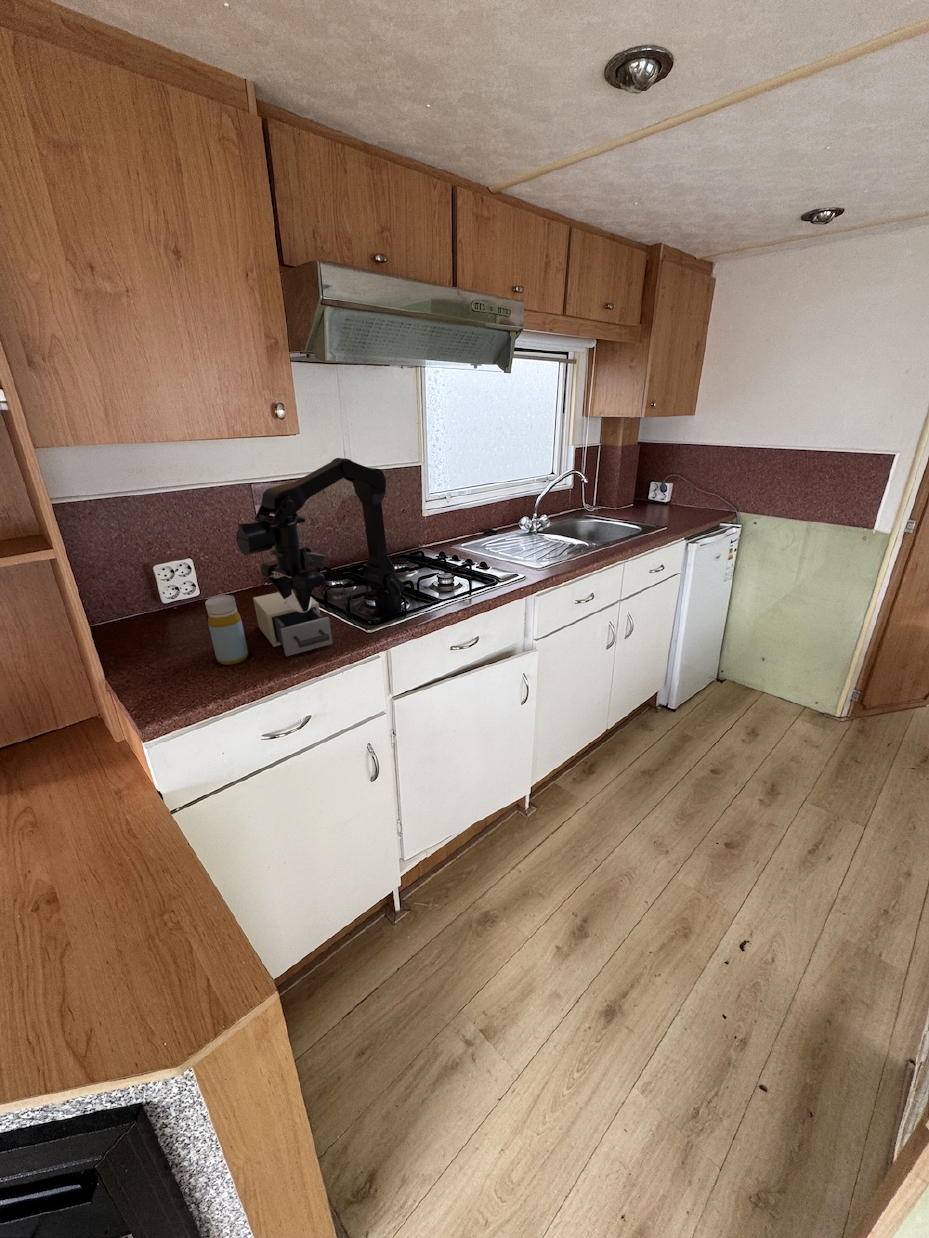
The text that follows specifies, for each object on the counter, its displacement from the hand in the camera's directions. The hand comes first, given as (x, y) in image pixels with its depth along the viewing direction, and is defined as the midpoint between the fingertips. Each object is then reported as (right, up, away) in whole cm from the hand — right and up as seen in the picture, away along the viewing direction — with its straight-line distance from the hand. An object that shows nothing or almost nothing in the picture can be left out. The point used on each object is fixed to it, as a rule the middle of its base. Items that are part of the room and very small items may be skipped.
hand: (297, 607), depth 129 cm
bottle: (-15, -12, -2) cm, 19 cm away
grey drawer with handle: (+1, -9, +3) cm, 9 cm away
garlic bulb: (0, -1, +1) cm, 1 cm away
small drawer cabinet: (-6, -6, +12) cm, 15 cm away
